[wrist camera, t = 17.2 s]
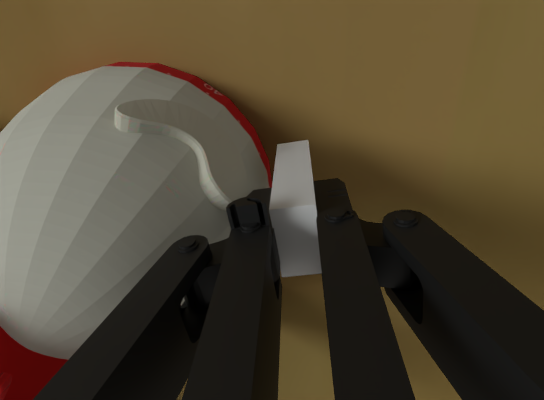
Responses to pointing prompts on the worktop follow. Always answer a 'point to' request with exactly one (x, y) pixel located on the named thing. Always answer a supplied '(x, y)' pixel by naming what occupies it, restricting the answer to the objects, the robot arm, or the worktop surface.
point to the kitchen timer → (107, 201)
